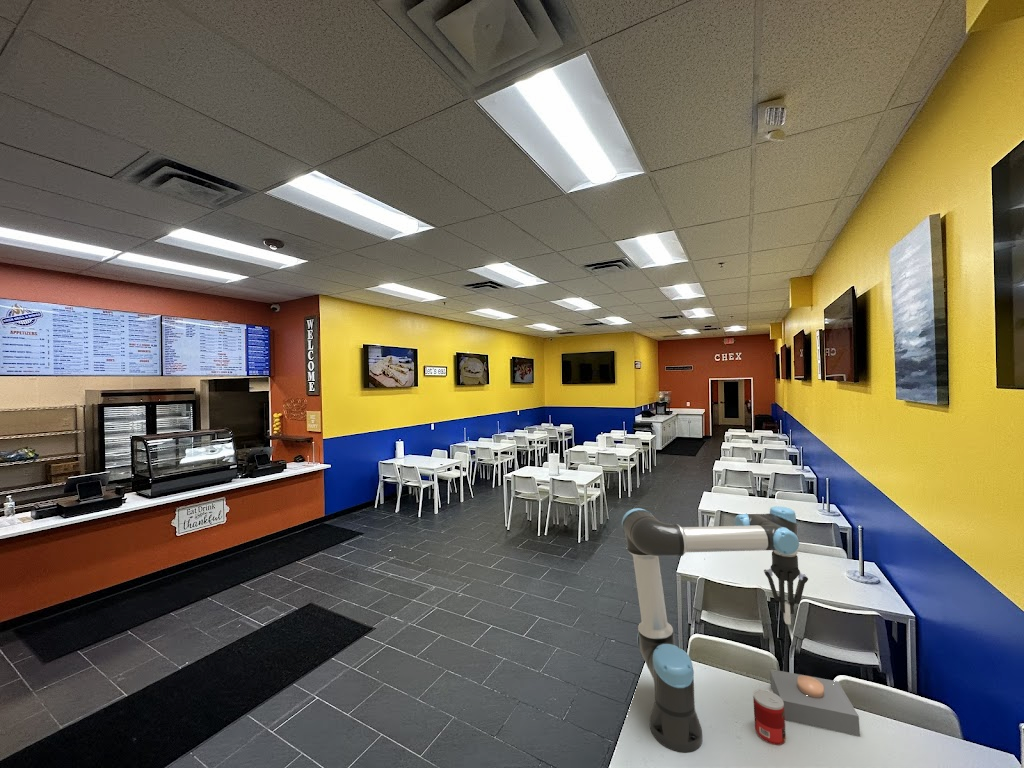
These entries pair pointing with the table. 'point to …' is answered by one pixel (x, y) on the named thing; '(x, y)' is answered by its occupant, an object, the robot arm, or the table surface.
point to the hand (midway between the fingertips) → (787, 622)
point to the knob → (810, 686)
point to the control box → (816, 704)
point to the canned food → (769, 716)
